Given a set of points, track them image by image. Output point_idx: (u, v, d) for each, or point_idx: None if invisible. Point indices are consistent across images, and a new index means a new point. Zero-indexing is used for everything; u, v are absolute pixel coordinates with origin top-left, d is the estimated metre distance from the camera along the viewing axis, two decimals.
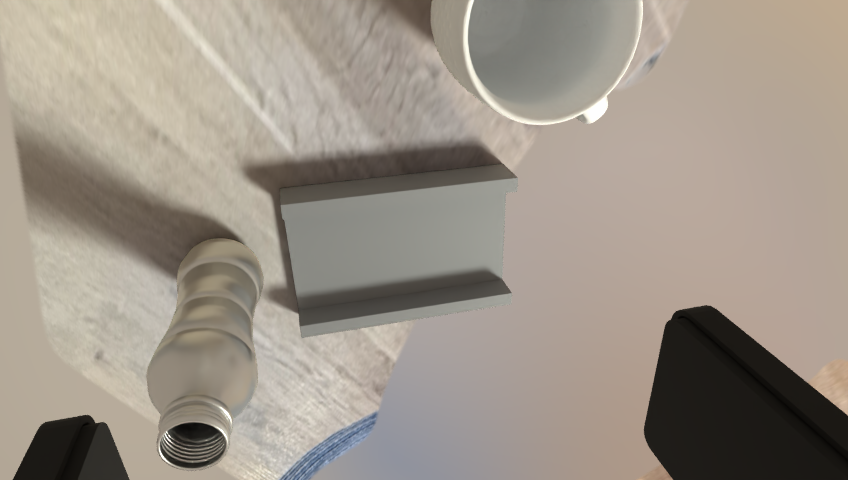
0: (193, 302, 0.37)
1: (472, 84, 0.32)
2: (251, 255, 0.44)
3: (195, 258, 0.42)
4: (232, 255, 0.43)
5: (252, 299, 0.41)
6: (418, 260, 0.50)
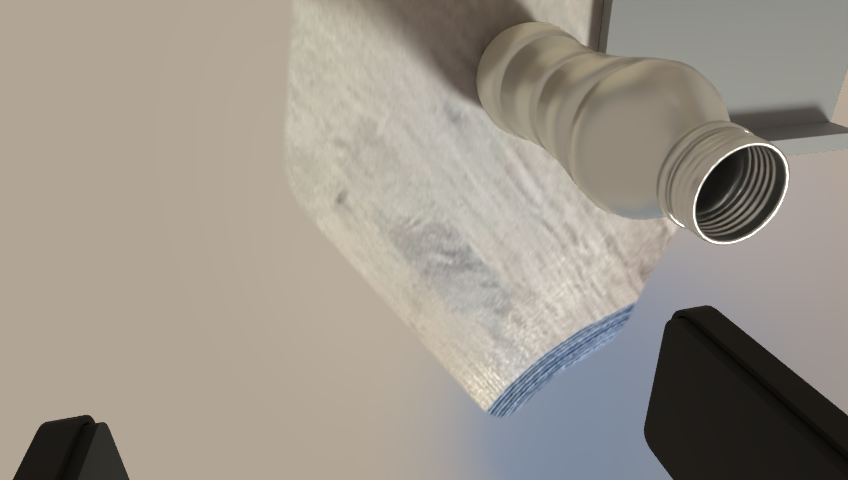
0: (584, 56, 0.25)
1: None
2: None
3: (525, 34, 0.30)
4: (569, 34, 0.31)
5: None
6: (747, 84, 0.38)
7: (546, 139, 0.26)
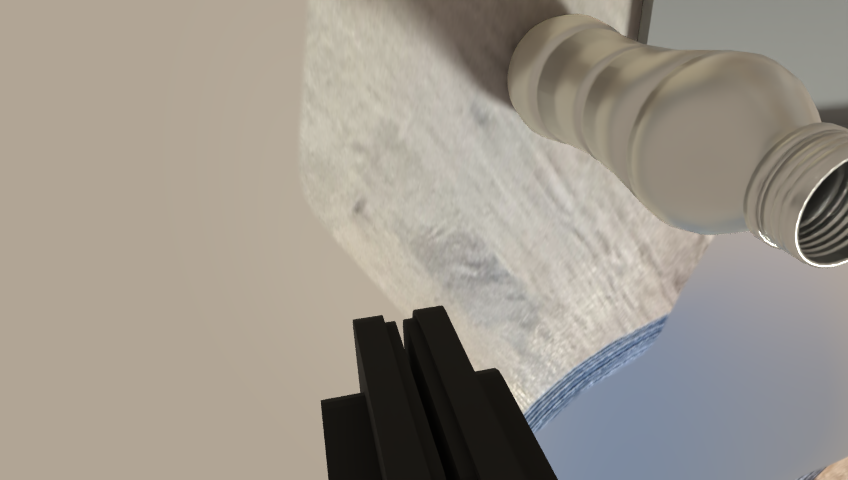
0: (639, 50, 0.23)
1: None
2: None
3: (564, 27, 0.28)
4: None
5: None
6: None
7: (596, 143, 0.23)
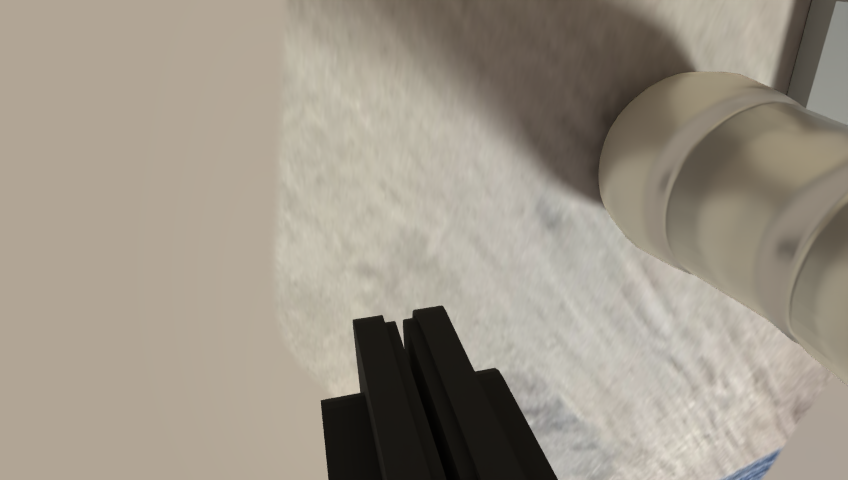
0: None
1: None
2: None
3: (714, 98, 0.16)
4: (786, 96, 0.17)
5: None
6: None
7: (831, 345, 0.12)
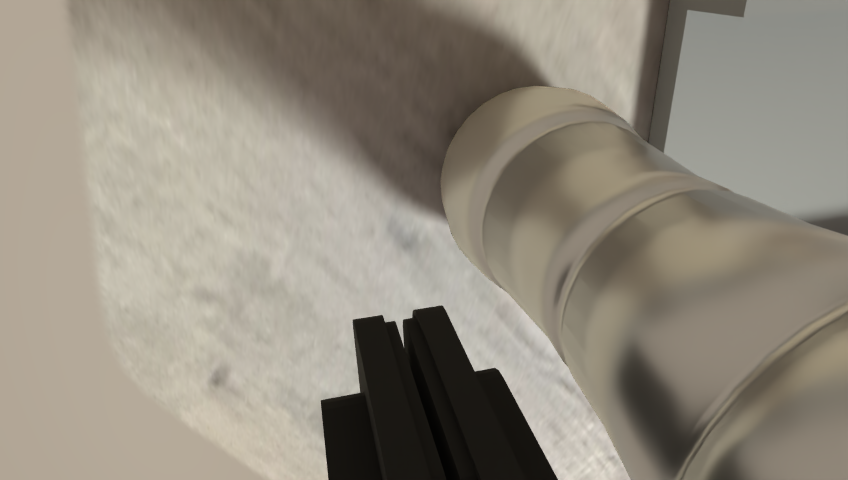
0: (679, 205, 0.10)
1: None
2: None
3: (529, 117, 0.15)
4: (613, 113, 0.16)
5: None
6: None
7: (589, 396, 0.11)
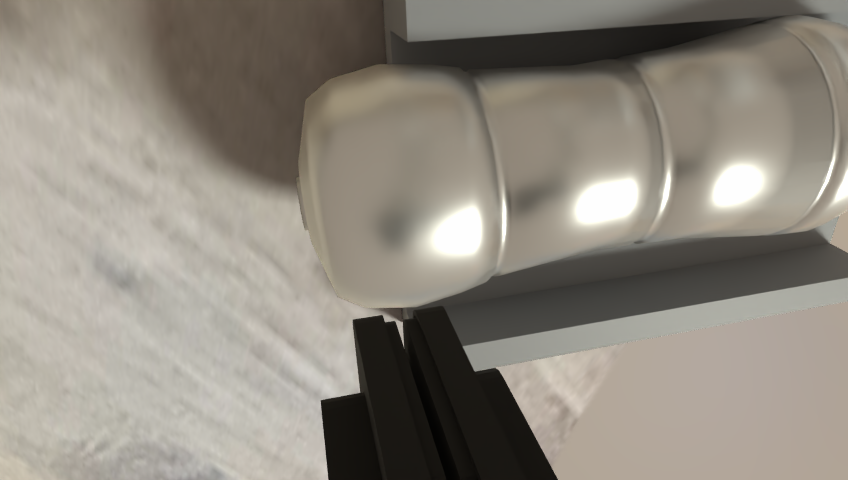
0: (638, 55, 0.16)
1: None
2: None
3: (438, 66, 0.14)
4: None
5: None
6: None
7: (722, 171, 0.14)
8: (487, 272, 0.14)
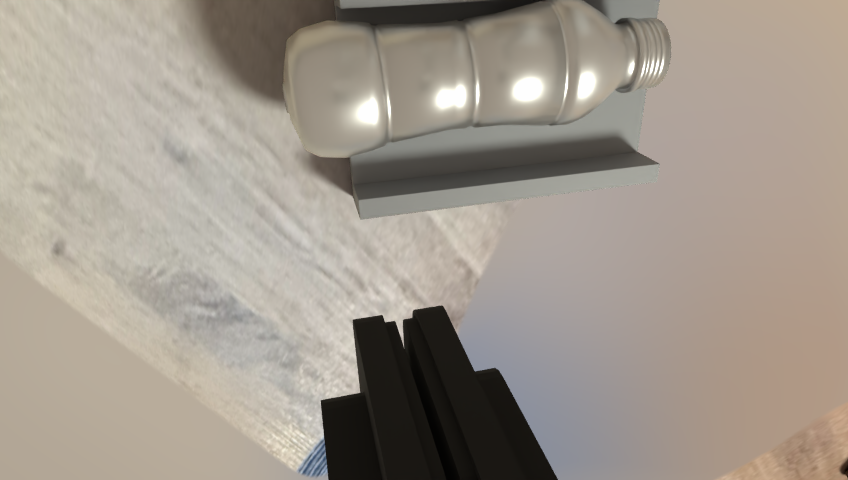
0: (471, 18, 0.28)
1: None
2: None
3: None
4: None
5: None
6: None
7: (507, 77, 0.27)
8: (383, 131, 0.27)
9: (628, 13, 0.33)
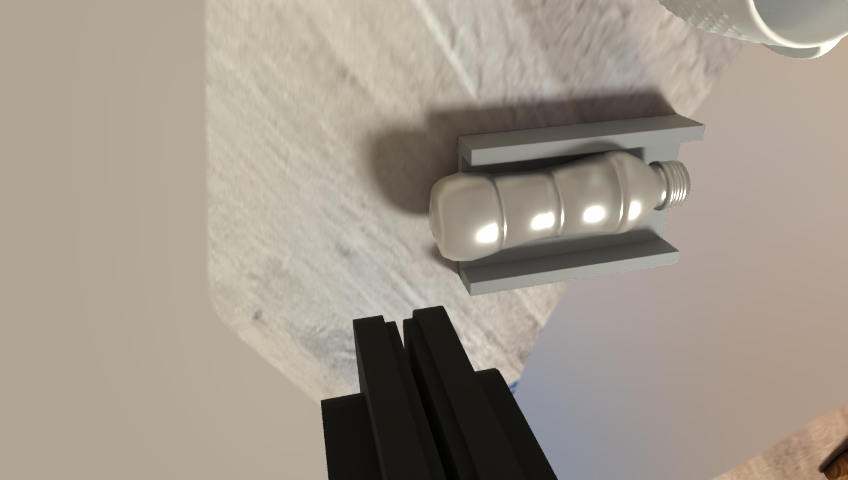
0: (555, 166, 0.42)
1: (743, 0, 0.30)
2: None
3: (482, 174, 0.41)
4: None
5: None
6: None
7: (582, 211, 0.41)
8: (499, 247, 0.41)
9: (658, 148, 0.47)
